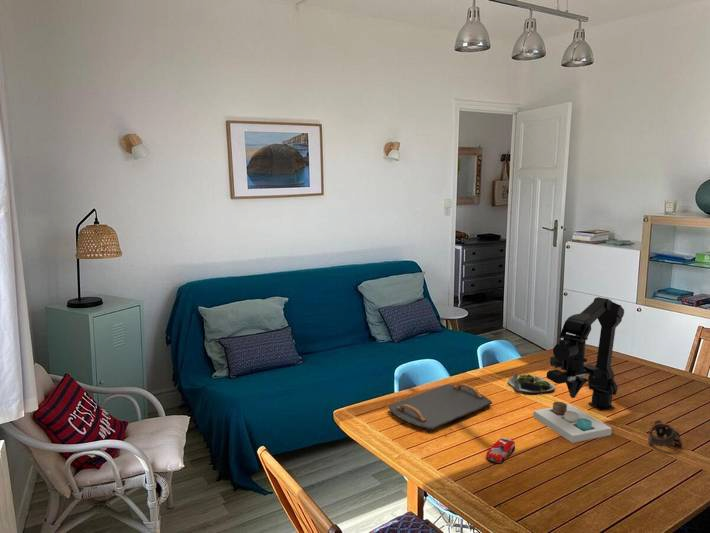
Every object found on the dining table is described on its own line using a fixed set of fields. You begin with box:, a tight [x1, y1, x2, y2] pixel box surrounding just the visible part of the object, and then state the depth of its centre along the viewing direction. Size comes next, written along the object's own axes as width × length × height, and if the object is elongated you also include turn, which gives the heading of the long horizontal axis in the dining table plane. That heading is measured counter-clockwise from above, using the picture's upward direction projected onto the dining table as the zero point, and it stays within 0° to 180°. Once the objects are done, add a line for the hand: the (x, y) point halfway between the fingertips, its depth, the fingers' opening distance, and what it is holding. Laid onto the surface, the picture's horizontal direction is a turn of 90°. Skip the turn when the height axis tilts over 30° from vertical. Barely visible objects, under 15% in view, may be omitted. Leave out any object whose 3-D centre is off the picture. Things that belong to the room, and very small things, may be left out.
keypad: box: [532, 403, 613, 444], centre depth 185 cm, size 16×20×2 cm
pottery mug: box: [647, 419, 683, 448], centre depth 172 cm, size 12×10×8 cm
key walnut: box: [552, 401, 568, 416], centre depth 190 cm, size 5×5×3 cm
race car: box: [485, 437, 516, 464], centre depth 166 cm, size 13×5×4 cm, turn 140°
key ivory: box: [564, 411, 579, 423], centre depth 185 cm, size 5×5×3 cm
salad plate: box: [507, 373, 556, 396], centre depth 221 cm, size 19×18×5 cm
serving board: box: [388, 383, 493, 433], centre depth 198 cm, size 39×23×6 cm, turn 128°
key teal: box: [576, 418, 592, 431], centre depth 179 cm, size 5×5×3 cm
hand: (572, 397), depth 183 cm, fingers closed
